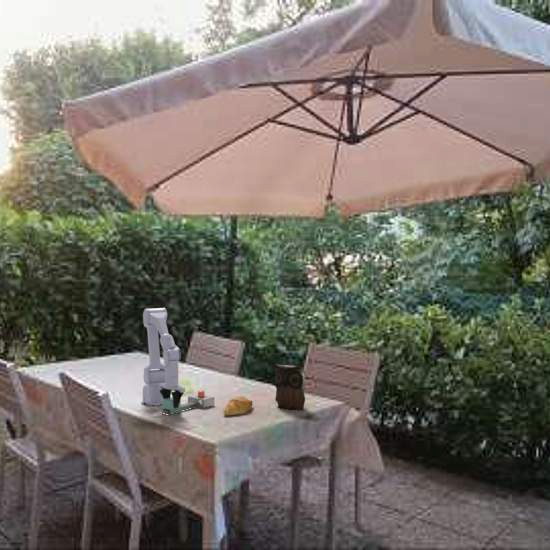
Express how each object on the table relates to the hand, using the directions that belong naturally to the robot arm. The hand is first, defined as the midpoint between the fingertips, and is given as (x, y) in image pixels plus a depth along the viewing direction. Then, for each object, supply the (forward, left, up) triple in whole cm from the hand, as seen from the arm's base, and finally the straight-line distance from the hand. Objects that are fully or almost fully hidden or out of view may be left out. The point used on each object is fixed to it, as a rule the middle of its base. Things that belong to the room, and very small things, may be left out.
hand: (171, 406), depth 314 cm
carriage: (0, 0, -3) cm, 3 cm away
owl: (+34, +43, -3) cm, 55 cm away
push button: (0, +19, 0) cm, 19 cm away
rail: (0, +6, -3) cm, 6 cm away
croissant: (+20, +21, -3) cm, 29 cm away
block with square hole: (0, +18, -3) cm, 19 cm away
